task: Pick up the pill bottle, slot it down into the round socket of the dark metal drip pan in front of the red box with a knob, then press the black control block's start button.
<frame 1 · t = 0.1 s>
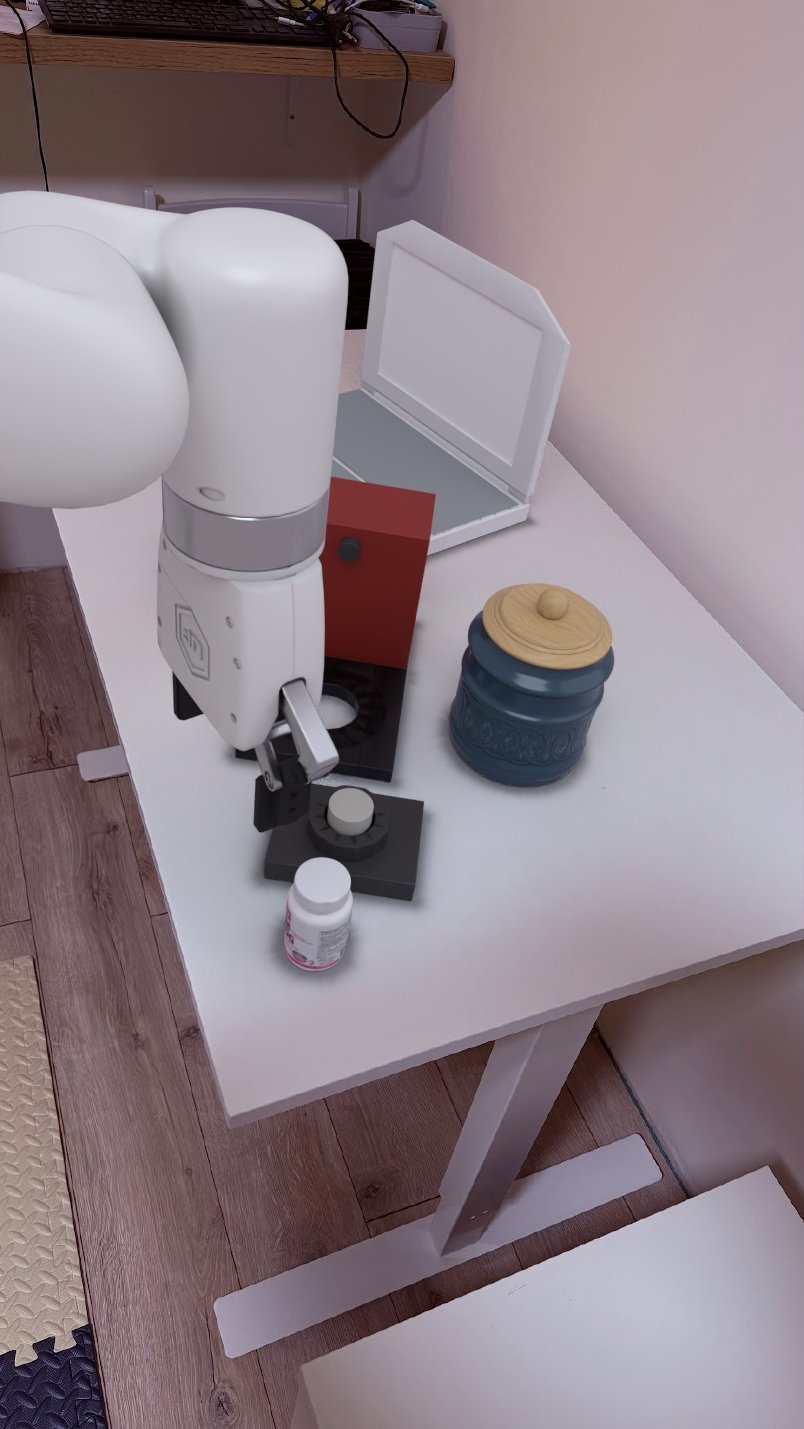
hand: (238, 763, 58), 23 cm above the table, tool pointing down, fingers open, 9 cm apart
red box with knob: (342, 637, 104), on the table
start button: (350, 811, 81), point 4 cm above the table, slide at 0.1 cm
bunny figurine: (215, 571, 110), on the table
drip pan: (324, 717, 95), on the table
canister: (513, 741, 96), on the table
pill bottle: (314, 947, 77), on the table
laptop: (369, 480, 127), on the table
control block: (345, 846, 84), on the table
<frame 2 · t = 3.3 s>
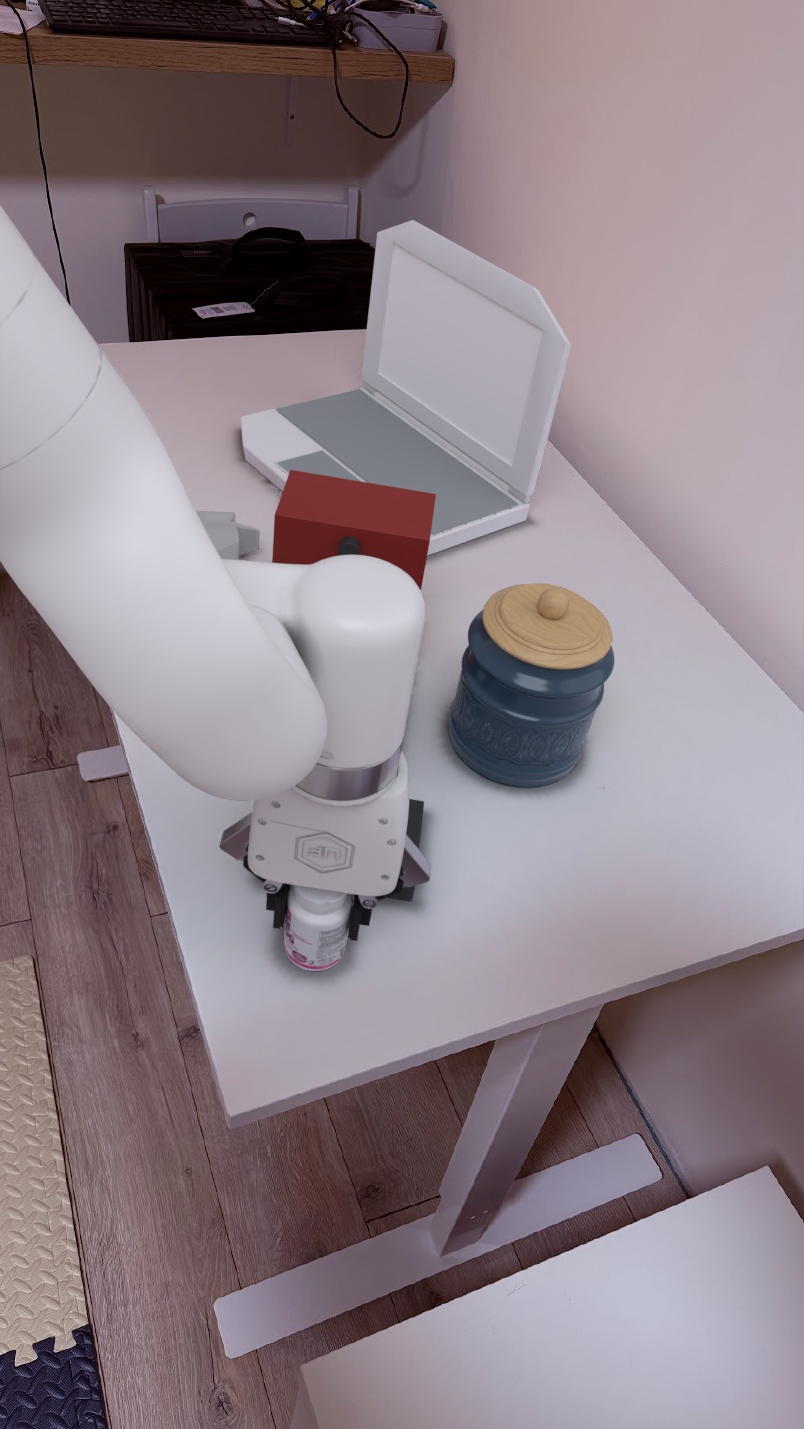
hand: (318, 916, 74), 4 cm above the table, tool pointing down, fingers closed on pill bottle, 4 cm apart
pill bottle: (314, 947, 77), on the table, touching gripper
everything else where it was.
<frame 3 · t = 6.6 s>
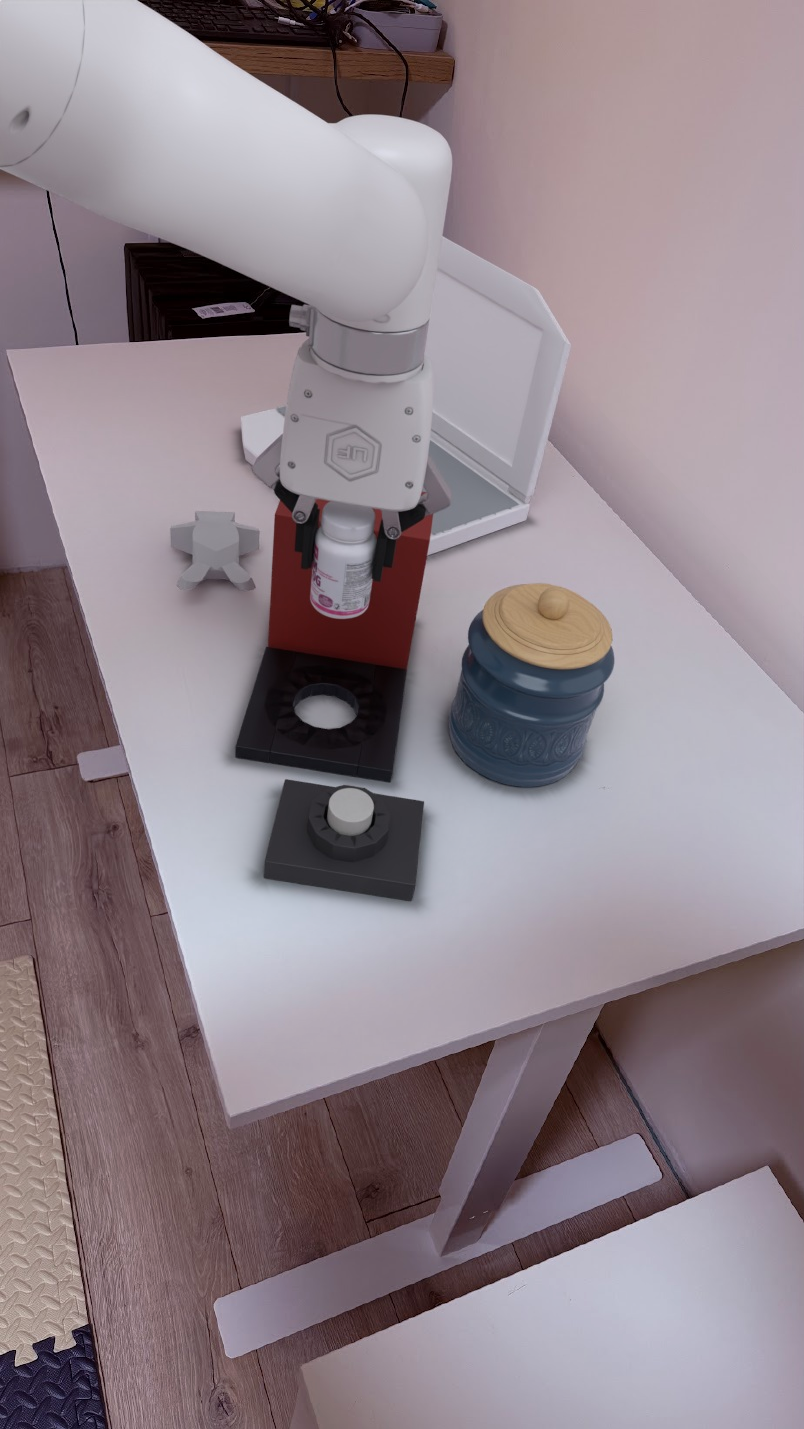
hand: (343, 563, 78), 20 cm above the table, tool pointing down, fingers closed on pill bottle, 4 cm apart
pill bottle: (338, 604, 81), point 16 cm above the table, touching gripper
everything else where it was.
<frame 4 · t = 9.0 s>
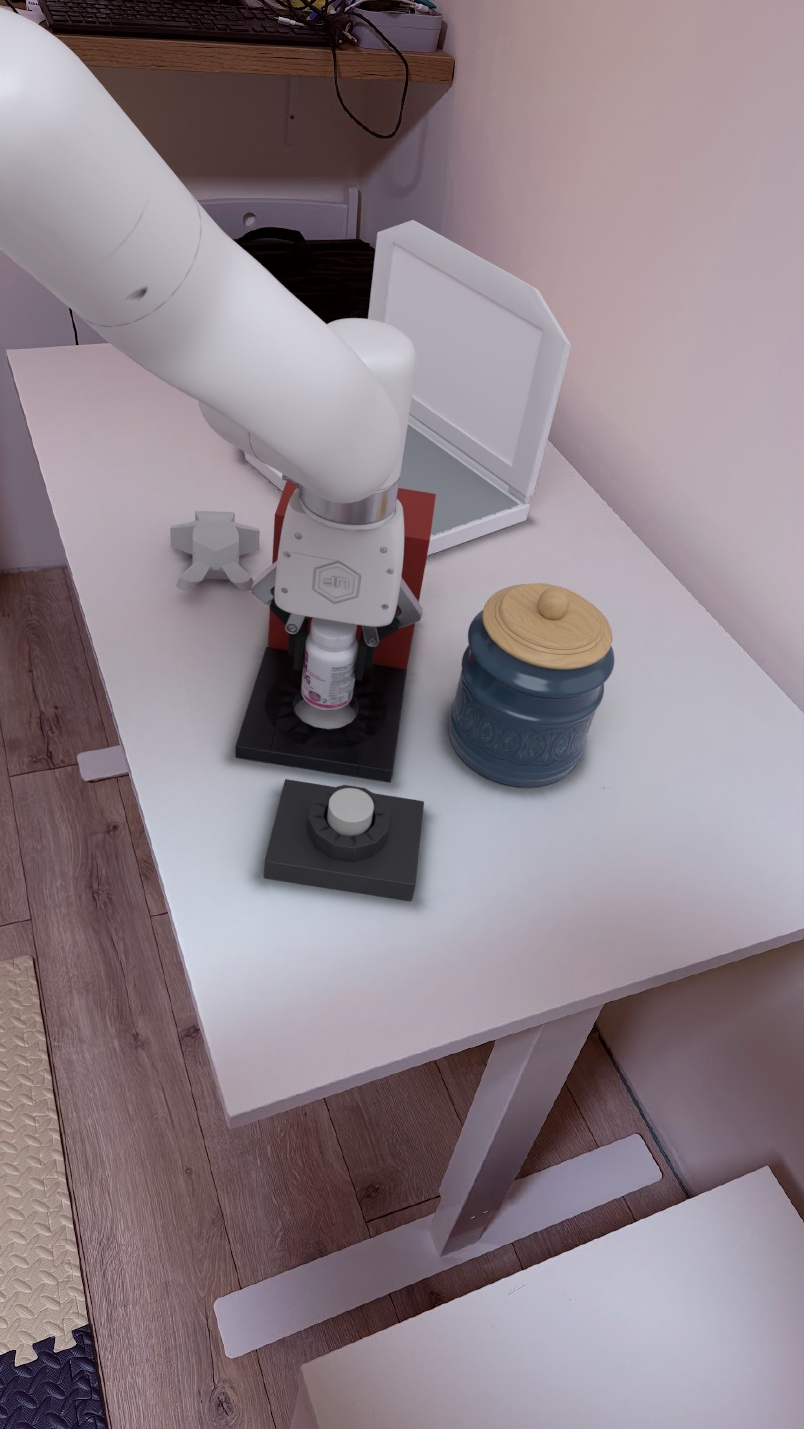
hand: (330, 663, 91), 7 cm above the table, tool pointing down, fingers closed on pill bottle, 4 cm apart
pill bottle: (326, 696, 93), point 3 cm above the table, touching gripper
everything else where it was.
when the fingers open (4 cm above the table, at t = 10.3 s): pill bottle stays where it is, resting in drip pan.
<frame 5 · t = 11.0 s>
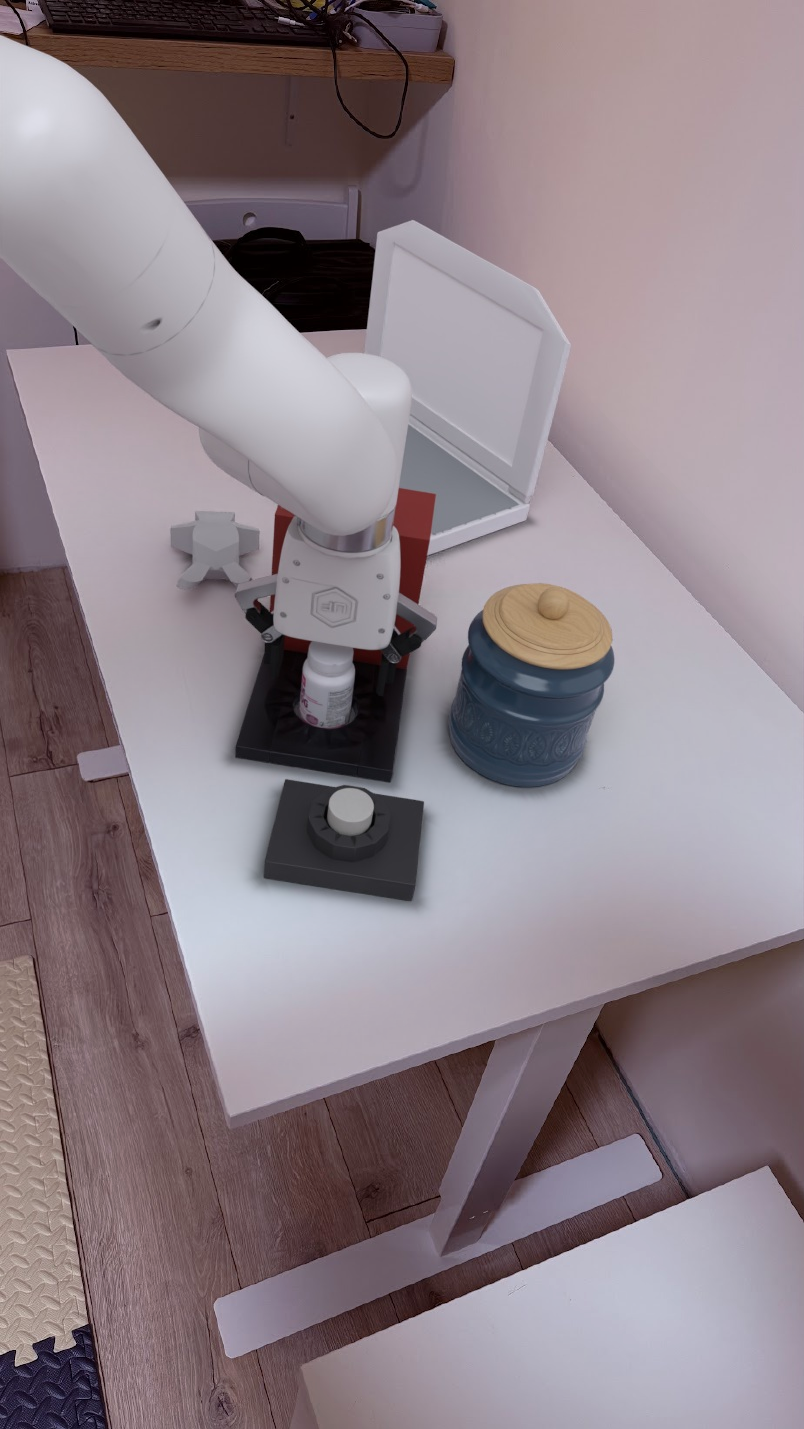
hand: (328, 677, 92), 5 cm above the table, tool pointing down, fingers open, 9 cm apart
pill bottle: (323, 718, 95), resting in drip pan
everything else where it was.
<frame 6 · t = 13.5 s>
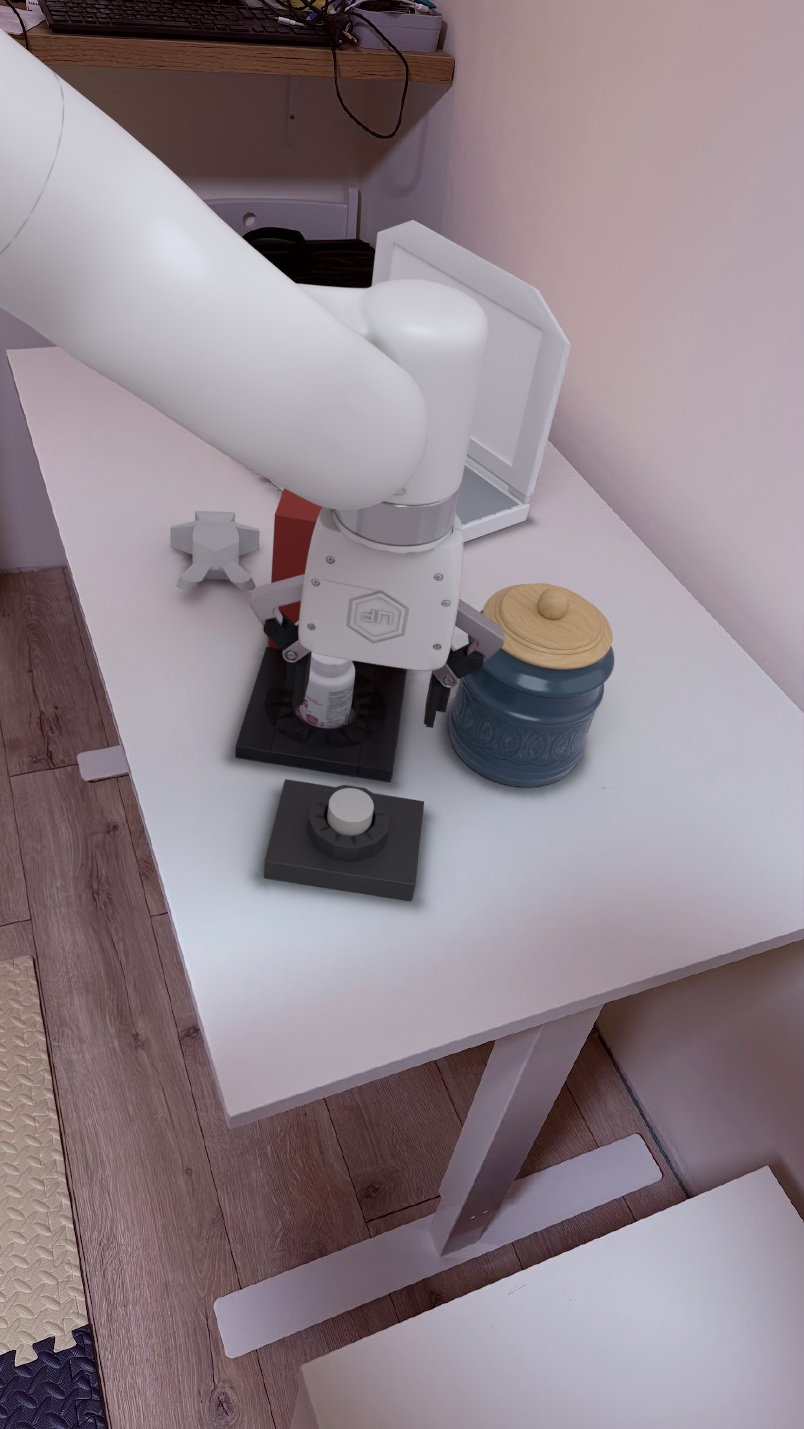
hand: (365, 703, 73), 16 cm above the table, tool pointing down, fingers open, 9 cm apart
nothing on the table moved.
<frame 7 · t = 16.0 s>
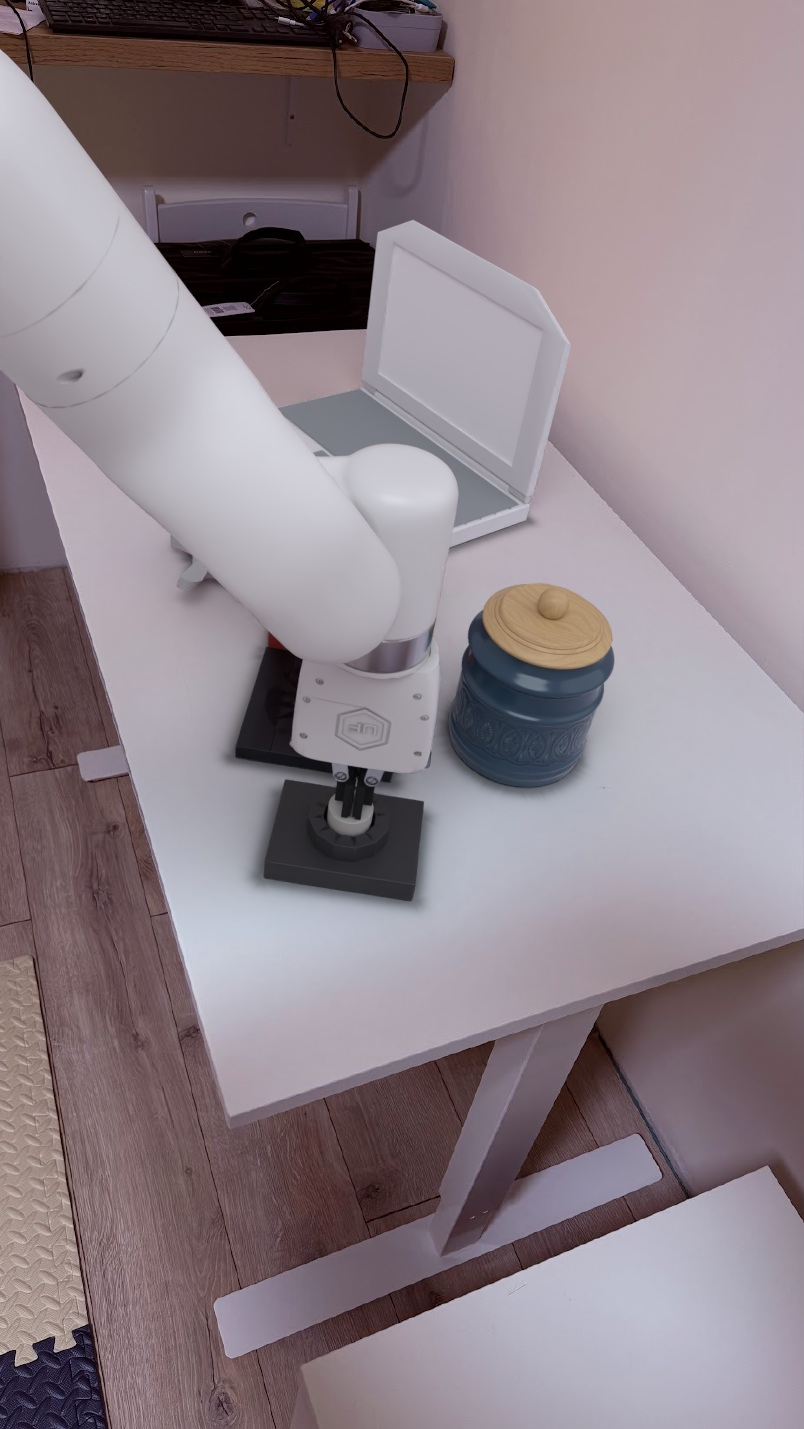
hand: (353, 805, 81), 5 cm above the table, tool pointing down, fingers closed
start button: (350, 813, 81), point 4 cm above the table, slide at -0.1 cm, touching gripper
everything else where it was.
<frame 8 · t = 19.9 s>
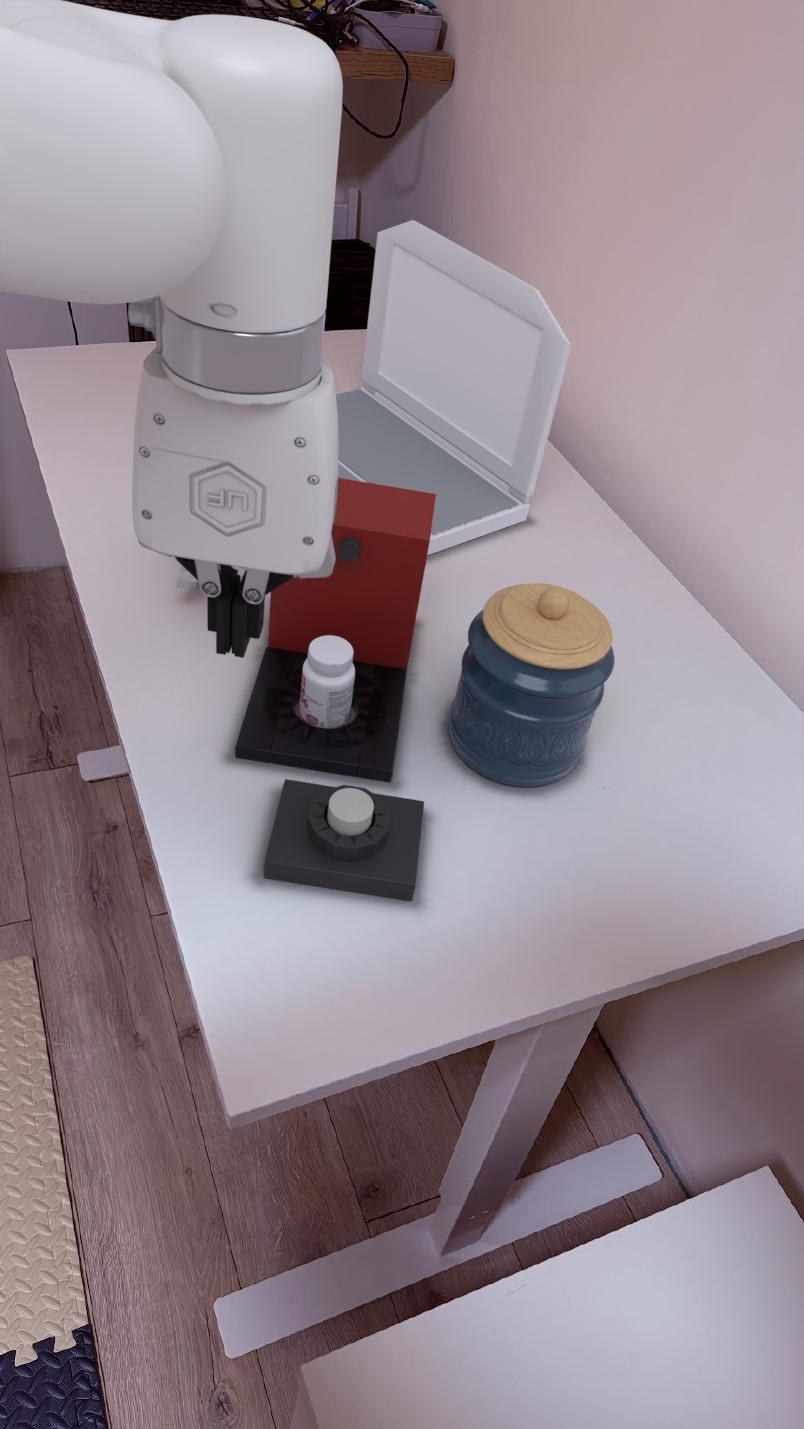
hand: (235, 640, 60), 27 cm above the table, tool pointing down, fingers closed
start button: (350, 811, 81), point 4 cm above the table, slide at 0.1 cm
everything else where it was.
at the end: pill bottle 0.1 cm off-centre in the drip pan, point 0.0 cm above the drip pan's base; start button pushed in 1.1 cm at the most during the clip, back to where it started at the end; start button slide at 0.1 cm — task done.
